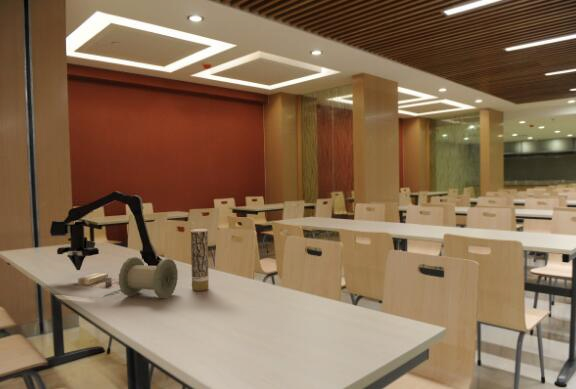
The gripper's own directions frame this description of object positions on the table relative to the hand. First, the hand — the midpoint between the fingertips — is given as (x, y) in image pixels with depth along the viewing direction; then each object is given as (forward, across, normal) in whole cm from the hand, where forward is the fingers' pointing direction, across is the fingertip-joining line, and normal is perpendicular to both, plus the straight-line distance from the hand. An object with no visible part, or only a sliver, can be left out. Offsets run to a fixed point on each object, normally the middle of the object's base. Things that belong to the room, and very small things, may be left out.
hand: (78, 270), depth 191 cm
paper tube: (+6, -58, -7) cm, 59 cm away
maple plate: (+5, -8, 0) cm, 10 cm away
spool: (+6, -44, +8) cm, 45 cm away
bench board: (+6, -13, 0) cm, 15 cm away
